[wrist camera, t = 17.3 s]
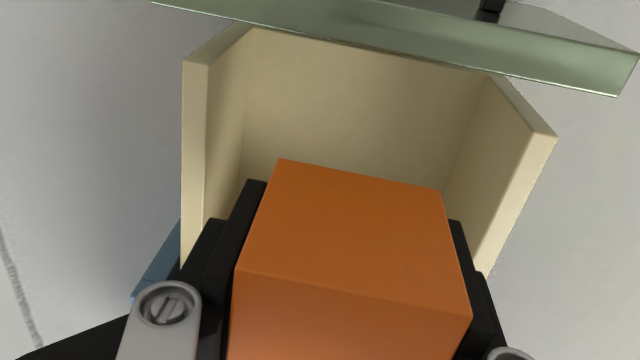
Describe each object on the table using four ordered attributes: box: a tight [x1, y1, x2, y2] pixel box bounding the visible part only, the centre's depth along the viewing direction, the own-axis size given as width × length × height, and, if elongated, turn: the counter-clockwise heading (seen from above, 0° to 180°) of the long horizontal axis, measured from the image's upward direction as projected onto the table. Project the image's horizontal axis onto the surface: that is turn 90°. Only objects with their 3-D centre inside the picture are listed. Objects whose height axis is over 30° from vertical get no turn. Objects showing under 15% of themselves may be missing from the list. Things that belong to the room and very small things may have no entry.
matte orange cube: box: [226, 158, 473, 360], centre depth 11 cm, size 4×4×4 cm
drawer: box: [150, 0, 640, 280], centre depth 16 cm, size 20×13×7 cm, turn 170°
